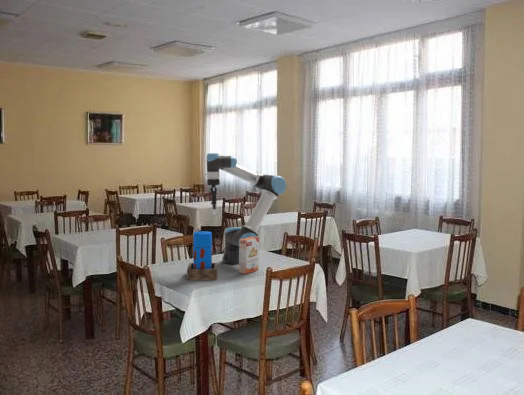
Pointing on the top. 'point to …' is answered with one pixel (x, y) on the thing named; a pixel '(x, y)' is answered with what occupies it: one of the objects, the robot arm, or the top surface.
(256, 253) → the cracker box
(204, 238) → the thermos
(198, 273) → the open wooden box
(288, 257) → the top surface
